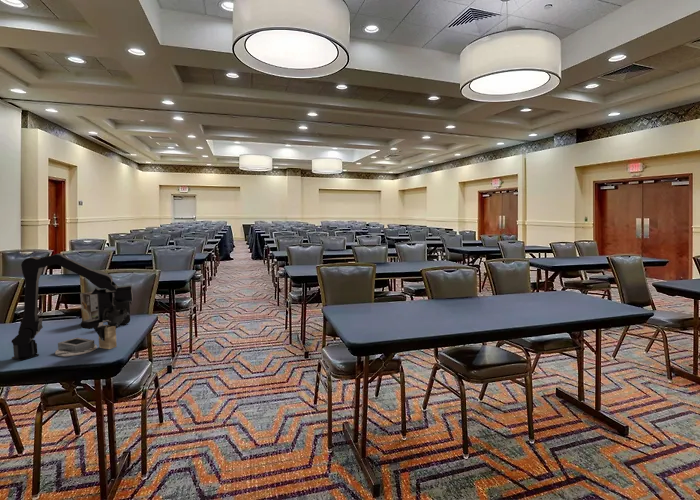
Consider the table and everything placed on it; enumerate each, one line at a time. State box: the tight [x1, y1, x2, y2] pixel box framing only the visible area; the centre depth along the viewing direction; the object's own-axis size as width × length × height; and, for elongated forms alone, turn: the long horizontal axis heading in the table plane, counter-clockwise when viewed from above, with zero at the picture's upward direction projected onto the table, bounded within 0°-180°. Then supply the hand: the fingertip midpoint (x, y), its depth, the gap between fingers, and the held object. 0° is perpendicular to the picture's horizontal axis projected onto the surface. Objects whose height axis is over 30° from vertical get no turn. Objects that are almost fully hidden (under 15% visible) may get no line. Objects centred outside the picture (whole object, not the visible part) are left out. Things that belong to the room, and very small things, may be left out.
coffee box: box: [79, 291, 98, 322], centre depth 212 cm, size 9×6×16 cm
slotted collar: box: [54, 337, 98, 358], centre depth 169 cm, size 14×14×4 cm
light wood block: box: [98, 324, 118, 350], centre depth 173 cm, size 4×6×9 cm, turn 67°
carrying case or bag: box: [113, 296, 132, 326], centre depth 208 cm, size 11×3×15 cm, turn 127°
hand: (107, 339), depth 173 cm, fingers closed on light wood block, 3 cm apart
